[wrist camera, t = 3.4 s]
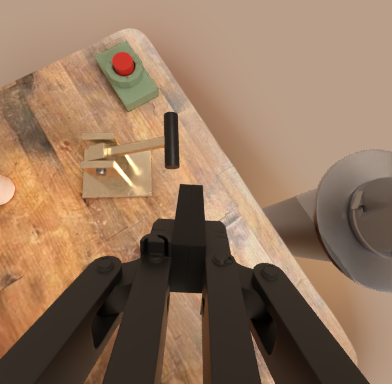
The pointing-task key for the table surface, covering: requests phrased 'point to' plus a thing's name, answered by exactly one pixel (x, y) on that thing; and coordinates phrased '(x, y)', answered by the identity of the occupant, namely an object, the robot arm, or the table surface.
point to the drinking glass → (6, 189)
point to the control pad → (128, 78)
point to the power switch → (116, 172)
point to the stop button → (123, 64)
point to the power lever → (144, 145)
